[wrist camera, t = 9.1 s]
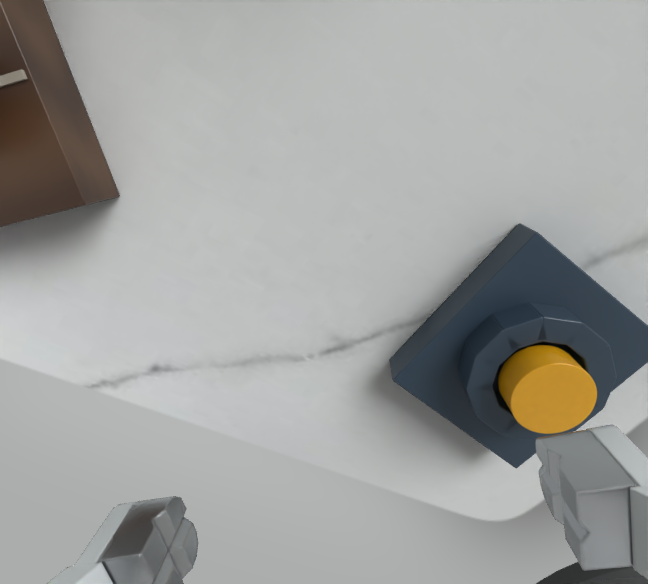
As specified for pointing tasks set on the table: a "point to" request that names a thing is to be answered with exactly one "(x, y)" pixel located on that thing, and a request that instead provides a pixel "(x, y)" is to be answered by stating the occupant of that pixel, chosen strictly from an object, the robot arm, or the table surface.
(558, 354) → the trigger button
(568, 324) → the button housing
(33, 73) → the dial panel
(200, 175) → the table surface
